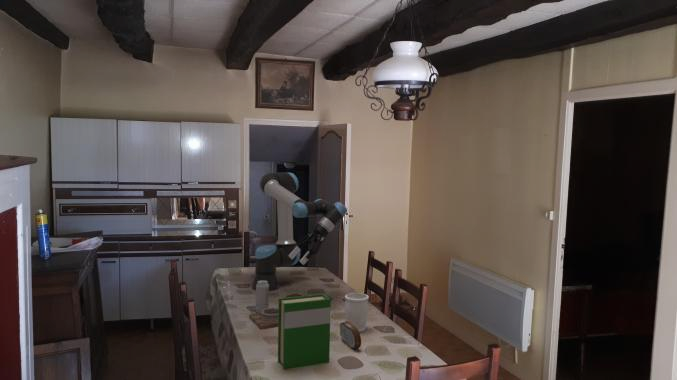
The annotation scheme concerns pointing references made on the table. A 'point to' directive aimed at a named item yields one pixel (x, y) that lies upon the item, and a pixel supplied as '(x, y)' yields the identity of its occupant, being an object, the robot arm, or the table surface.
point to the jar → (356, 310)
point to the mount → (266, 318)
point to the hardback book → (304, 330)
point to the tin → (350, 335)
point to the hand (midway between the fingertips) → (295, 260)
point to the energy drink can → (262, 295)
